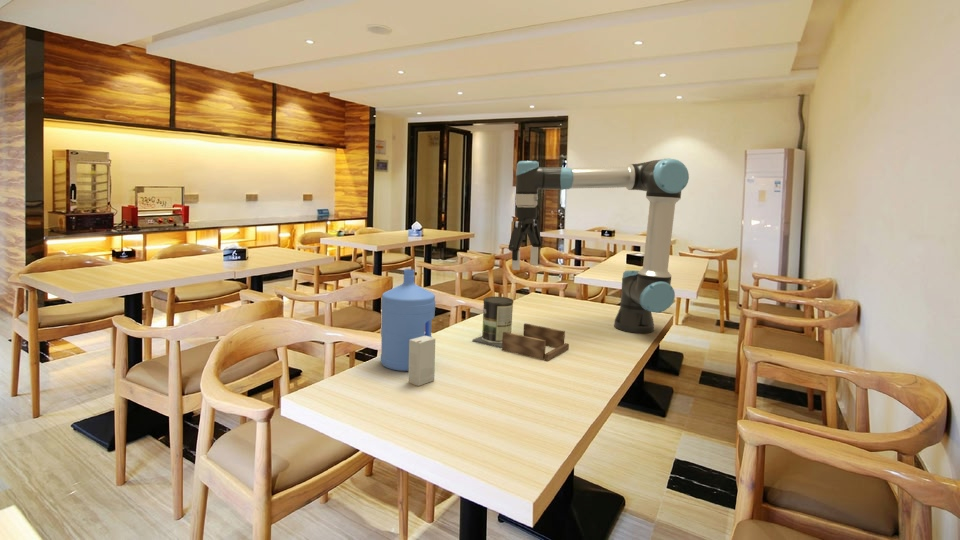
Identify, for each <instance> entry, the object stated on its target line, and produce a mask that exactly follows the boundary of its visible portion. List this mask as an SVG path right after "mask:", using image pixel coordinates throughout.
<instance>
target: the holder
mask: <svg viewBox="0 0 960 540" xmlns="http://www.w3.org/2000/svg"><path fill="white" fill-rule="evenodd" d="M565 336H566V331H565V330H560V329H557V328H556V329H555V328H550V327H545V326H540V325H535V324H532V323H531V324H530V323H524V324H523V335H522V334H516V333H512V332H511V333H508V332H503V339H502V348H501V350H502V351H503V350H504V351H505V352H507V351H508V352H507V353H512V354H517V355H522V356H525V357H529V358H534V359H538V360H542V361H546V362H549V361H550V360H552V359H555V358H556V357H557V356H560V355H562V354H563V353H565V352H566V351H568V350H569V347H570V343H568V342H567V343H566V342H565V339H566V338H565ZM546 347H549V348H554V349H551V350H550V351H548V352H546Z"/></svg>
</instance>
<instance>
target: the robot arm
mask: <svg viewBox="0 0 960 540" xmlns="http://www.w3.org/2000/svg"><path fill="white" fill-rule="evenodd" d="M515 173H516V174H515V206H516V208H515V218H516V219H518V221H517V220H516V221H513V227H512V233H511V236H510V240H509V243H508V247H507V248H508V250H509V251H510V252H511V253H512V254H511V270H514V271H520V270H521V250H520V248H521V245H522V243H523V240H524V238H525V236H526V235H527V237H528V239H529V241H530V245H531V246H530V257H529V259H530V260H529V261H530V262H529V266H530V265H532V266H539V248H541V247H542V244H543V243H542V238H541V233H540V228H539V220H538V219H537V218H538V207H537V206H538V200H539V196H538V194H539V192H538V191H539V190H563V191H564V190H570V189H608V188H610V189H611V188H612V189H613V188H617V189H619V188H625V189H627V190H628V191H644V192H646V193H645V194H646V195H645V198H646V199H647V200H648V201H649V207H648V214H647V215H648V216H647V225H646V234H645V236H646V237H645V244H644V252H643V253H644V254H643V263H642V268H641V269H640V270H625V271H623V274H622V279H621V291H620V292H621V293H620V304H619V305H620V306H619V310H618V312H617V314H616V317H615V319H614V323H613V326H614V329H616V330H620V331H623V332H628V333H634V334H635V333H636V334H648V333H653V332H654V331H655V323H654V318H653V313H654V314H658V313H662V312H665V311H667V310H668V309H669V308H671V306H672V305H673V303H674V300H675V298H676V294H675V293H676V292H675V289H674V288H673V286H672V285H671V284H672V274H671V273H670V272H669V270H668V269H669V261H670V260H669V259H670V252H671V245H672V244H671V243H672V236H673V226H674V219H675V218H674V217H675V209H676V208H675V207H676V203H678V202H679V201H680V200H681V196H682V191H683V190H684V189H685V188H687V185H688V183H689V179H690V174H689V169H688V168H687V166H686V165H685V164H684V163H683V162H682V161H681V160H679V159H676V158H661V159H655V160H650V161H646V162H640V163H629V164H627V165H626V166H610V167H609V166H608V167H605V166H603V167H564V166H561V167H560V166H558V167H557V166H555V167H554V166H549V167H548V166H546V167H543V166H540V165H539V162H538V161H537V160H519V161H518V162H517V163H516V171H515Z"/></svg>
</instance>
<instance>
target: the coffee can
mask: <svg viewBox="0 0 960 540" xmlns="http://www.w3.org/2000/svg"><path fill="white" fill-rule="evenodd" d="M513 305H514V299H513V298H510V297H506V296H487V297H484V298H483V312H482V314H483V315H482V331H481V332H482V333H481V334H482V335H481V336H482V340H484V341H486V342H489V343H498V344H500V343H502V339H503V332H508V333H512V325H513V309H514V308H513V307H514V306H513Z"/></svg>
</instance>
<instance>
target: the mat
mask: <svg viewBox="0 0 960 540" xmlns="http://www.w3.org/2000/svg"><path fill="white" fill-rule="evenodd" d="M472 342H474V343H477V344H481V345H482V344H483V345H485V344H486V346H489V347H490V346H491V347H495V348H498V347H499V348H498V349H502V343H500V344H498V343H489V342H486V341H484V340H482V335H481V336H478V337H476V338H473V339H472Z"/></svg>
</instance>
